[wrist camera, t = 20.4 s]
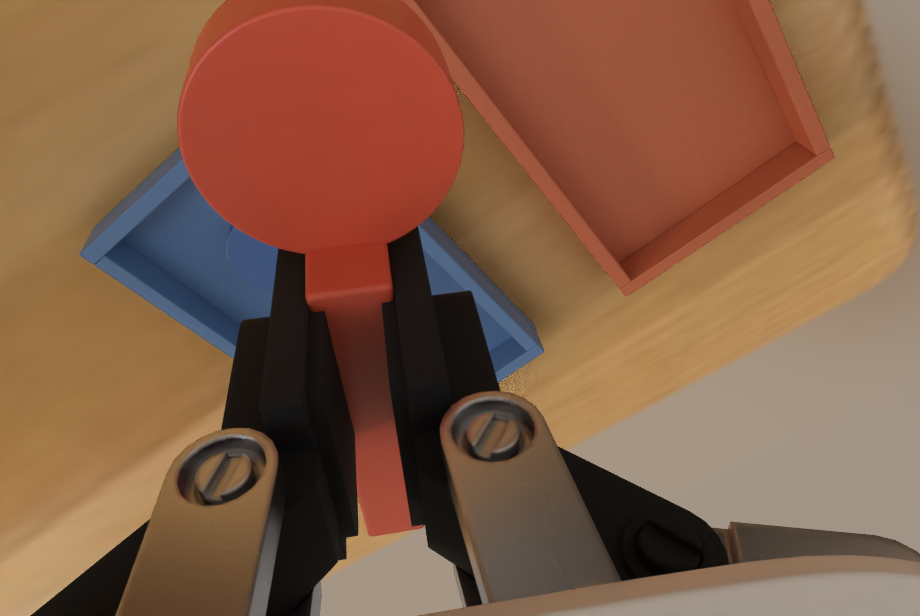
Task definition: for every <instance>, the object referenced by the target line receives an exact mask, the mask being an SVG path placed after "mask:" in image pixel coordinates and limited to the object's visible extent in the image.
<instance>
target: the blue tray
mask: <svg viewBox="0 0 920 616" xmlns="http://www.w3.org/2000/svg"><path fill="white" fill-rule="evenodd" d="M229 228H230V223H229V222H228V221H226V220H225V219H224V218H223V217H221V216H220V215H219V214H218V213H217V212H216V211H215V210H214V209H213V208H212V207H211V206H210V205H209V203H208V202H207V201H206V200H205V198H204V197H203V196H202V195H201V193H200V192H199V190H198V189H197V187H196V185H195V184H194V182H193V181H192V179H191V177H190V175H189V173H188V170H187V168H186V166H185V164H184V161H183V157H182V154H181V151H180V147H179V148H178V149H177V150H176V151H175V152H174V153H173V154H171V155H170V156H169V157H168V158H167V159H166V160H165V161H164V162H163V163H162V164H161V165H160V166H159V167H158V168H157V169H155V170H154V171H153V172H152V173H151V174H150V175H149V176H148V177H147V178H146V179H145V180H144V181H143V182H142V183H141V184H139V185H138V186H137V187H136V188H135V189H134V190H133V191H132V192H131V193H130V194H129V195H128V196H127V197H126V198H124V199H123V200H122V201H121V202H120V203H119V204H118V205H117V206H116V207H115V208H114V209H113V210H112V211H111V212H110V213H108V214H107V215H106V216H105V217H104V218H103V219H102V220H101V221H100V222H99V223H98V224H97V225H96V226H95V227H94V228H93V230H92V232H91V234H90V236H89V237H88V239H87V241H86V243H85V245H84V246H83V248H82V250H81V252H80V254H79V255H80V256H81V257H83V258H84V259H86V260H87V261H89V262H90V263H92V264H95V266H96V267H98V268H99V269H101V270H102V271H104V272H105V273H107V274H108V275H110V276H111V277H113V278H114V279H116V280H117V281H119V282H120V283H122V284H123V285H125V286H126V287H128V288H129V289H130V290H132V291H133V292H135V293H136V294H138V295H139V296H141V297H142V298H144V299H145V300H147V301H148V302H150V303H151V304H153V305H154V306H156V307H157V308H159V309H160V310H162V311H163V312H165V313H166V314H168V315H169V316H171V317H172V318H174V319H175V320H177V321H178V322H180V323H181V324H183V325H184V326H186V327H187V328H188V329H190V330H191V331H193V332H194V333H196V334H197V335H199V336H200V337H202V338H203V339H205V340H206V341H208V342H209V343H211V344H212V345H214V346H215V347H217V348H218V349H220V350H221V351H223V352H224V353H226V354H227V355H229V356H230V357H232V358H233V359H234V355H235V349H236V344H237V338H238V332H239V327H240V324H241V322H242V321H243V320H248V319H255V318H263V317H270V313H271V304H272V296H273V291H268V290H263V289H260V288H257V287H254V286H252V285H250V284H248V283H247V282H245V281H244V280H243V279H241V278H240V277H239V276H238V275H237V274H236V273H235V271H234V270H233V269H232V267H231V265H230V263H229V261H228V258H227V254H226V241H227V237H228V232H229ZM418 228H419V233H420V238H421V243H422V248H423V253H424V258H425V263H426V268H427V273H428V278H429V283H430V288H431V293H432V295H438V294H446V293H453V292H461V291H469V290H471V292H472V294H473V297H474V300H475V303H476V307H477V310H478V314H479V318H480V321H481V325H482V328H483V332H484V335H485V339H486V342H487V346H488V349H489V353H490V356H491V360H492V363H493V367H494V370H495V374H496V377H497V381H498V382H500V381H501V380H503V379H504V378H506V377H507V376H509V375H510V374H512V373H513V372H515V371H516V370H518V369H519V368H521V367H522V366H524V365H525V364H527V363H528V362H530V361H531V360H533V359H534V358H536V357H537V356H539V355H540V354H542V353H543V352H544V349H543V346H542V344H541V341H540V339H539V336H538V334H537V331H536V328H535V326H534V324H533V323H532V322H531V321H530V320H529V319H528V318H527V317H526V316H525V315H524V314H523V313H522V312H521V311H520V310H519V309H518V308H517V306H516V305H515V304H514V303H513V302H512V301H511V300H510V299H509V298H508V297H507V296H506V295H505V294H504V293H503V292H502V291H501V290H500V289H499V288H498V287H497V286H496V285H495V284H494V283H493V282H492V281H491V280H490V279H489V278H488V277H487V275H486V274H485V273H484V272H483V271H482V270H481V269H480V268H479V267H478V266H477V265H476V264H475V263H474V262H473V261H472V260H471V259H470V258H469V257H468V256H467V255H466V254H465V253H464V252H463V251H462V250H461V249H460V248H459V247H458V245H457V244H456V243H455V242H454V241H453V240H452V239H451V238H450V237H449V236H448V235H447V234H446V233H445V232H444V231H443V230H442V229H441V228H440V227H439V226H438V225H437V224H436V223H435V222H434V221H433V220H432V219H431V218H430V217H428V218H427V219H426V220H424V221H423V222H422V223H421V224H420V225H419V226H418Z"/></svg>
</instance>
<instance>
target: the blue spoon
mask: <svg viewBox="0 0 920 616" xmlns="http://www.w3.org/2000/svg"><path fill="white" fill-rule="evenodd" d="M226 254H227V258H228V261H229V263H230V265H231V267H232V269H233V270H234V271H235V273H236V274H237V275H238V276H239V277H240V278H241V279H243V280H244V281H245V282H247V283H248V284H250V285H252V286H254V287H257V288H260V289H263V290H268V291H273V288H274V279H275V271H276V263H277V254H278V248H276V247H273V246H270V245H267V244H265V243H263V242H261V241H259V240H256V239H254V238H252V237H250V236H249V235H247V234H245V233H243V232H242V231H240V230H238V229H237V228H235V227H234V226H233V225H231V224H230V228H229V232H228V237H227V241H226Z"/></svg>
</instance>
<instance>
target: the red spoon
mask: <svg viewBox="0 0 920 616" xmlns="http://www.w3.org/2000/svg"><path fill="white" fill-rule="evenodd" d="M177 133H178V140H179V147H180V151H181V154H182V157H183V161H184V164H185V166H186V168H187V170H188V173H189V175H190V177H191V179H192V181H193V182H194V184H195V185H196V187H197V189H198V190H199V192H200V193H201V195H202V196H203V197H204V198H205V200H206V201H207V202H208V203H209V205H210V206H211V207H212V208H213V209H214V210H215V211H216V212H217V213H218V214H219V215H220V216H221V217H223V218H224V219H225V220H226V221H228V222H229V223H230V224H231V225H233V226H234V227H235V228H237V229H238V230H240V231H242V232H243V233H245V234H247V235H249V236H250V237H252V238H254V239H256V240H259V241H261V242H263V243H265V244H267V245H270V246H273V247H276V248H279V249H282V250H287V251H291V252H295V253H300V254H305V299H306V302H307V304H308V306H309V311H311V312H318V311H325V315H326V319H327V323H328V327H329V331H330V335H331V339H332V344H333V348H334V352H335V356H336V360H337V364H338V368H339V372H340V376H341V380H342V384H343V388H344V392H345V396H346V400H347V404H348V408H349V412H350V416H351V420H352V424H353V428H354V432H355V449H356V476H357V494H358V498H359V502H360V506H361V509H362V513H363V517H364V521H365V524H366V528H367V532H368V534H369V536H379V535H385V534H390V533H396V532H402V531H408V530H414V529H420V528H423V527H424V525H420V526H414V527H412V525H411V519H410V513H409V507H408V501H407V494H406V488H405V482H404V476H403V469H402V463H401V457H400V451H399V445H398V438H397V432H396V426H395V420H394V413H393V407H392V400H391V393H390V385H389V377H388V367H387V356H386V346H385V336H384V325H383V315H382V305H381V303H384V302H389V301H392V300H393V299H394V290H393V283H392V276H391V268H390V261H389V254H388V246H387V244H388V243H390V242H393V241H395V240H396V239H398V238H400V237H402V236H404V235H406V234H407V233H409V232H410V231H412V230H413V229H415V228H416V227H417V226H419V225H420V224H421V223H422V222H423V221H424V220H426V219H427V218H428V217H429V216H430V215H431V214H432V213H433V212H434V211H435V209H436V208H437V207H438V206H439V205H440V204H441V202H442V201H443V199H444V198H445V196H446V195H447V193H448V192H449V190H450V188H451V186H452V184H453V182H454V180H455V178H456V175H457V172H458V169H459V167H460V164H461V159H462V154H463V149H464V123H463V115H462V111H461V107H460V103H459V99H458V96H457V93H456V90H455V87H454V84H453V81H452V78H451V75H450V72H449V69H448V67H447V64H446V61H445V58H444V56H443V53H442V51H441V48H440V46H439V44H438V43H437V41H436V39H435V38H434V36H433V34H432V32H431V31H430V30H429V28H428V27H427V26H426V24H425V23H424V22H423V20H422V19H421V18H420V17H419V16H418V15H417V14H416V13H415V12H414V11H413V10H412V9H411V8H410V7H409V6H408V5H407V4H405V3H404V2H403V1H401V0H227V1H226V2H224V3H223V4H222V5H221V6H220V7H219V8H218V9H217V10H216V11H215V13H214V14H213V15H212V16H211V18H210V19H209V20H208V22H207V23H206V24H205V26H204V28H203V30H202V32H201V33H200V35H199V37H198V39H197V42H196V44H195V47H194V50H193V53H192V56H191V59H190V63H189V67H188V70H187V74H186V78H185V81H184V85H183V88H182V92H181V96H180V102H179V107H178V113H177Z"/></svg>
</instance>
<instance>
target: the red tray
mask: <svg viewBox="0 0 920 616" xmlns="http://www.w3.org/2000/svg"><path fill="white" fill-rule="evenodd" d="M401 1H403V2H404V3H405V4H407V5H408V6H409V7H410V8H411V9H412V10H413V11H414V12H415V13H416V14H417V15H418V16H419V17H420V18H421V19H422V20H423V22H424V23H425V24H426V26H427V27H428V28H429V30H430V31H431V32H432V34H433V36H434V38H435V39H436V41H437V43H438V44H439V46H440V48H441V51H442V53H443V56H444V58H445V61H446V64H447V67H448V69H449V72H450V75H451V78H452V80H453V81H454V82H455V83H456V85H457V86H458V87H459V88H460V90H461V91H462V92H463V93H464V95H465V96H466V97H467V98H468V100H469V101H470V102H471V103H472V105H473V106H474V107H475V108H476V110H477V111H478V112H479V113H480V115H481V116H482V117H483V118H484V120H485V121H486V122H487V123H488V125H489V126H490V127H491V128H492V130H493V131H494V132H495V133H496V135H497V136H498V137H499V139H500V140H501V141H502V142H503V144H504V145H505V146H506V147H507V149H508V150H509V151H510V152H511V154H512V155H513V156H514V157H515V159H516V160H517V161H518V162H519V164H520V165H521V166H522V167H523V169H524V170H525V171H526V172H527V174H528V175H529V176H530V177H531V179H532V180H533V181H534V182H535V184H536V185H537V186H538V187H539V189H540V190H541V191H542V192H543V194H544V195H545V196H546V197H547V199H548V200H549V201H550V202H551V204H552V205H553V206H554V207H555V209H556V210H557V211H558V212H559V214H560V215H561V216H562V217H563V219H564V220H565V221H566V222H567V224H568V225H569V226H570V227H571V229H572V230H573V231H574V232H575V234H576V235H577V236H578V237H579V239H580V240H581V241H582V242H583V244H584V245H585V246H586V247H587V249H588V250H589V251H590V252H591V254H592V255H593V256H594V258H595V259H596V260H597V261H598V263H599V264H600V265H601V266H602V268H603V269H604V270H605V271H606V273H607V274H608V275H609V276H610V278H611V279H612V280H613V281H614V283H615V284H616V285H617V286H618V288H619V289H620V290H621V291H622V293H623V294H624V295H625V296H628V295H630V294H631V293H633V292H634V291H636V290H637V289H639V288H640V287H642V286H643V285H645V284H646V283H648V282H649V281H651V280H652V279H654V278H655V277H657V276H658V275H660V274H661V273H663V272H664V271H666V270H667V269H669V268H670V267H672V266H673V265H675V264H676V263H678V262H679V261H681V260H682V259H684V258H685V257H687V256H688V255H690V254H691V253H693V252H694V251H696V250H697V249H699V248H700V247H702V246H703V245H705V244H706V243H708V242H709V241H711V240H712V239H714V238H715V237H717V236H718V235H720V234H721V233H723V232H724V231H726V230H727V229H729V228H730V227H732V226H733V225H735V224H736V223H738V222H739V221H741V220H742V219H744V218H745V217H747V216H748V215H750V214H751V213H753V212H754V211H756V210H757V209H759V208H760V207H762V206H763V205H765V204H766V203H768V202H769V201H771V200H772V199H774V198H775V197H777V196H778V195H780V194H781V193H783V192H784V191H786V190H787V189H789V188H790V187H792V186H793V185H795V184H796V183H798V182H799V181H801V180H802V179H804V178H805V177H807V176H808V175H810V174H811V173H813V172H814V171H816V170H817V169H819V168H820V167H822V166H823V165H825V164H826V163H828V162H829V161H831V160H832V159H834V154H833V152H832V149H831V148H830V145H829V142H828V140H827V138H826V135H825V133H824V130H823V128H822V126H821V123H820V121H819V118H818V116H817V114H816V111H815V109H814V106H813V104H812V102H811V99H810V97H809V95H808V92H807V90H806V87H805V85H804V83H803V80H802V78H801V75H800V73H799V71H798V68H797V66H796V63H795V61H794V59H793V56H792V54H791V51H790V49H789V47H788V44H787V42H786V40H785V37H784V35H783V32H782V30H781V28H780V25H779V23H778V20H777V18H776V16H775V13H774V11H773V8H772V6H771V4H770V1H769V0H401Z"/></svg>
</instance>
